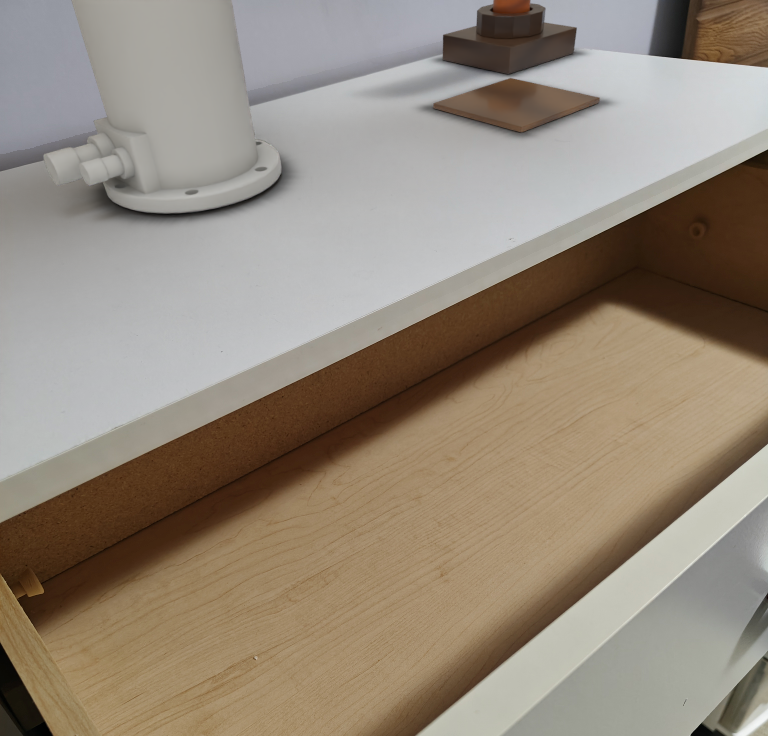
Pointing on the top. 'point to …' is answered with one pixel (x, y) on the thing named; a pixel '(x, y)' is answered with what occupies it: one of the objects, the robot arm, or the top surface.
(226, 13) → the robot arm
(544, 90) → the coaster
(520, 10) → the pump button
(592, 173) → the top surface
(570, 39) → the button housing
